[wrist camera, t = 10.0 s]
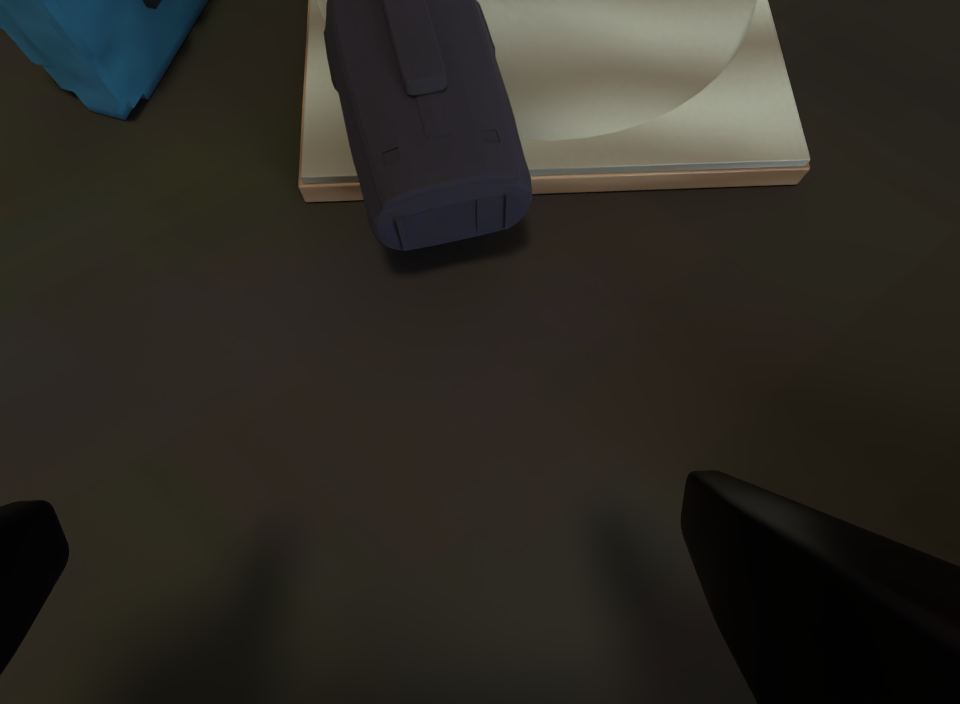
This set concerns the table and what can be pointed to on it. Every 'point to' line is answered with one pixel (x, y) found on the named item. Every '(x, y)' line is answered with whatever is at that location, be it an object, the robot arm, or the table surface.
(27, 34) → the handheld gaming console
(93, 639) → the table surface
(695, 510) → the robot arm
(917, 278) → the table surface
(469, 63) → the two-way radio
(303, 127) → the rounded flat tile
